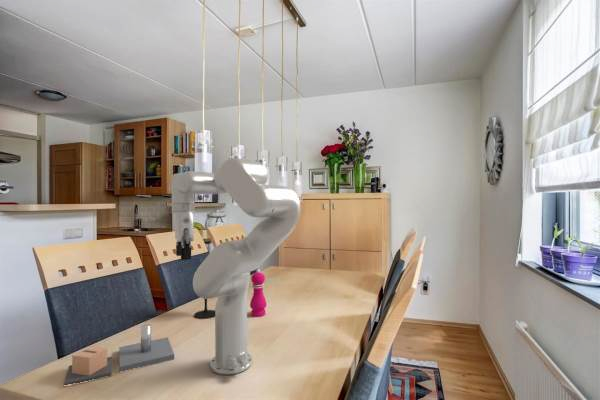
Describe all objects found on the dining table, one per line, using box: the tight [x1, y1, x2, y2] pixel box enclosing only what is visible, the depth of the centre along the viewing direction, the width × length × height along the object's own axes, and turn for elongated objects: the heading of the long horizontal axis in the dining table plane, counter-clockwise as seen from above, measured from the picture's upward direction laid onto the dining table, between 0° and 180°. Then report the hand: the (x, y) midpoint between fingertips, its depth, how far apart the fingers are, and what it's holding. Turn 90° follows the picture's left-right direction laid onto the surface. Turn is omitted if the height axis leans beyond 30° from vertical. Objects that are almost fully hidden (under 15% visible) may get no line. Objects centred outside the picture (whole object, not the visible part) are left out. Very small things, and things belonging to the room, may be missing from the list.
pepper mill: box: [249, 268, 267, 318], centre depth 139 cm, size 7×7×20 cm
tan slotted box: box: [71, 345, 108, 376], centre depth 92 cm, size 6×6×5 cm
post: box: [140, 323, 152, 353], centre depth 102 cm, size 3×3×8 cm
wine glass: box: [193, 268, 215, 320], centre depth 139 cm, size 10×10×20 cm
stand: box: [118, 337, 175, 372], centre depth 102 cm, size 15×15×2 cm
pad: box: [63, 356, 113, 386], centre depth 92 cm, size 11×11×1 cm
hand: (183, 257), depth 110 cm, fingers open, 9 cm apart
